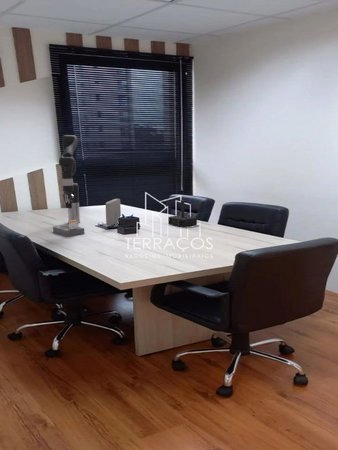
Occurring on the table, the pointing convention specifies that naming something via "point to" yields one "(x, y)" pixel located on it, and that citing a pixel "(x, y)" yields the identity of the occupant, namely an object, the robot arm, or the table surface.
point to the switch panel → (68, 230)
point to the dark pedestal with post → (182, 218)
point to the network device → (113, 211)
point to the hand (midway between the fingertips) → (69, 208)
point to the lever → (73, 224)
